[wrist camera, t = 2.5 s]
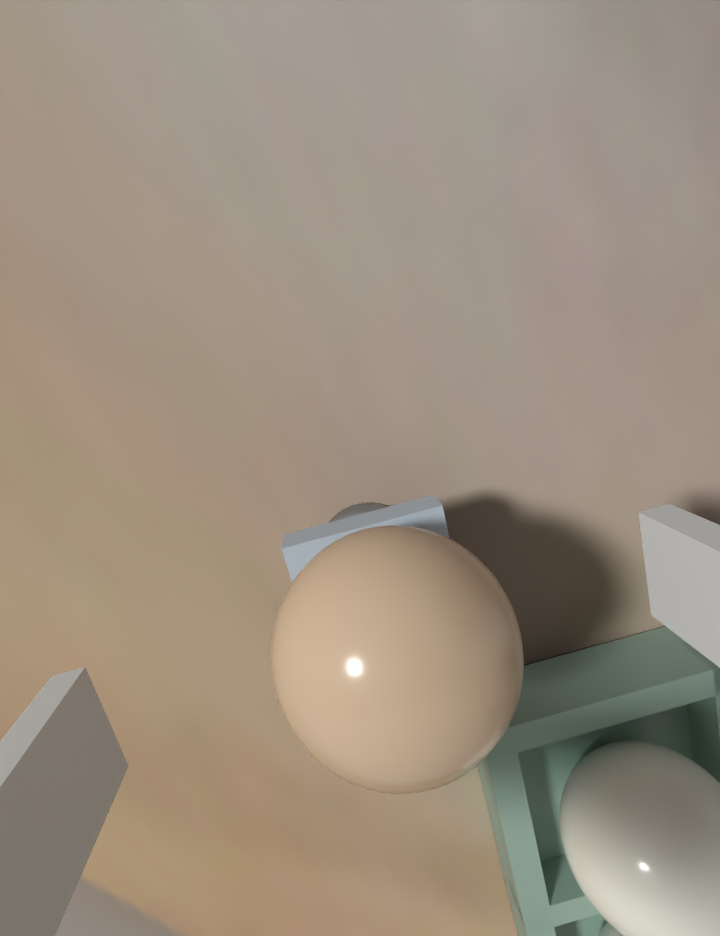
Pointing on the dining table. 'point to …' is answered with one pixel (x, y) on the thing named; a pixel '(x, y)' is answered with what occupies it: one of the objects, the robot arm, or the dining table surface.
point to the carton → (570, 739)
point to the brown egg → (397, 659)
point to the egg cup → (361, 527)
